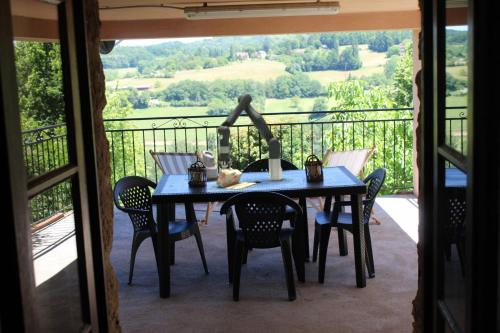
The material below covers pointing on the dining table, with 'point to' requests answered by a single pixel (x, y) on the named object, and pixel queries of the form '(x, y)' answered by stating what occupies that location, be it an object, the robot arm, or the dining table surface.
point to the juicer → (209, 166)
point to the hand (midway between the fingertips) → (225, 174)
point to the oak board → (240, 185)
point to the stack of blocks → (228, 177)
